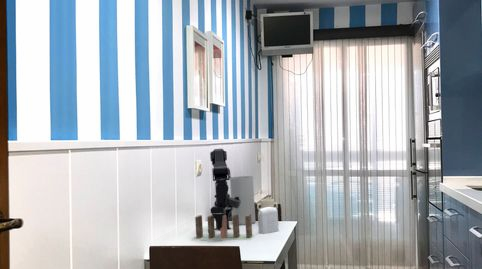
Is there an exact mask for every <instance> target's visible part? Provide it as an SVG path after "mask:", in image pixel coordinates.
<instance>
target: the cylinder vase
mask: <svg viewBox="0 0 482 269" xmlns="http://www.w3.org/2000/svg"><path fill="white" fill-rule="evenodd" d="M229 183H230V184H229V186H230V187H229V189H230V197H231V198H235V197H236V196H237V197H239V198H240V200H241V203H240V206H239V207H238V208H233V210H232V211H231V222H232V224H233V218H232V216H234V215H239V226H246V223H245V216H246V215H248V214H251V223H252V224H255V223H256V212H255V211H256V208H255V206H256V204H255V188H254V187H255V186H254V176H252V175H246V176H244V175H243V176H241V175H240V176H231V178H230V180H229Z"/></svg>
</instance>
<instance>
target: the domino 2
mask: <svg viewBox="0 0 482 269" xmlns="http://www.w3.org/2000/svg"><path fill="white" fill-rule="evenodd" d="M215 228H216V224H215V218H214V217H213V215H212V214H210V215H208V216H207V230H208V231H207V233H208V234H207V235H208V236H209V238H213V237H215V235H216V230H215Z"/></svg>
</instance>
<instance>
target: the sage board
mask: <svg viewBox="0 0 482 269" xmlns="http://www.w3.org/2000/svg"><path fill="white" fill-rule="evenodd" d="M256 235H257V234H256V233H252V237H251V238H246V233H244V234H242V233H240V236H239V237H238V238H234V236H233V234H227V237H226V238H221V234H215V237H213V238H209V236H208V234H203V237H201V238H200V239H196V237H194V238H193V239H191V241H251V240H252V239H253V238H254V237H255V236H256Z"/></svg>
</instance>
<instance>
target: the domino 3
mask: <svg viewBox="0 0 482 269" xmlns="http://www.w3.org/2000/svg"><path fill="white" fill-rule="evenodd" d="M232 218H233V223H232V232H233V234H232V235H233V236H234V238H238V237H239V236H240V234H241V233H240V232H241V231H240V225H239V215H234V216H232V215H231V219H232Z"/></svg>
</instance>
